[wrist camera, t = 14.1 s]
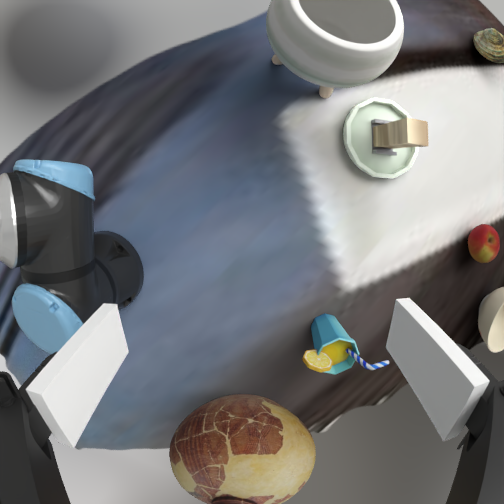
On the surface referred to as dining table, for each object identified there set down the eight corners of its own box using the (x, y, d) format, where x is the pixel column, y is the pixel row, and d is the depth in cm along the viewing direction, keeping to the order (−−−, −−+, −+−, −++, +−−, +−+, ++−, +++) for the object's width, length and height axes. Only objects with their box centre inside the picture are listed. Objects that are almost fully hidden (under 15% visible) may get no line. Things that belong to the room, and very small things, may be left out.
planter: (242, 59, 40) (234, -12, 19) (311, 15, 37) (343, -58, 16) (307, 127, 44) (350, 97, 22) (372, 78, 41) (441, 35, 19)
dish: (343, 175, 46) (348, 176, 44) (341, 95, 42) (345, 92, 40) (412, 180, 46) (420, 181, 43) (411, 106, 42) (418, 104, 39)
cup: (363, 303, 53) (394, 346, 38) (360, 337, 55) (386, 383, 40) (293, 310, 53) (305, 359, 39) (293, 344, 55) (303, 396, 41)
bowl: (460, 301, 53) (484, 321, 43) (501, 262, 50) (527, 276, 41) (469, 343, 57) (489, 364, 47) (507, 307, 54) (529, 323, 44)
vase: (218, 447, 65) (209, 539, 37) (161, 381, 58) (122, 490, 30) (319, 420, 62) (341, 521, 33) (280, 343, 55) (297, 475, 26)
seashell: (496, 82, 38) (524, 76, 29) (464, 49, 37) (491, 38, 27) (500, 54, 35) (525, 47, 26) (470, 23, 34) (494, 11, 24)
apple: (485, 222, 48) (509, 230, 40) (479, 257, 50) (501, 269, 42) (464, 218, 48) (488, 227, 40) (457, 256, 50) (480, 268, 42)
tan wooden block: (373, 146, 44) (407, 142, 32) (373, 127, 43) (406, 117, 31) (391, 148, 43) (428, 146, 32) (390, 129, 42) (427, 121, 31)
